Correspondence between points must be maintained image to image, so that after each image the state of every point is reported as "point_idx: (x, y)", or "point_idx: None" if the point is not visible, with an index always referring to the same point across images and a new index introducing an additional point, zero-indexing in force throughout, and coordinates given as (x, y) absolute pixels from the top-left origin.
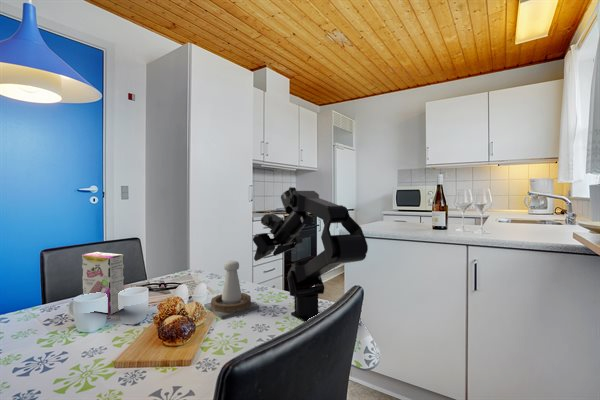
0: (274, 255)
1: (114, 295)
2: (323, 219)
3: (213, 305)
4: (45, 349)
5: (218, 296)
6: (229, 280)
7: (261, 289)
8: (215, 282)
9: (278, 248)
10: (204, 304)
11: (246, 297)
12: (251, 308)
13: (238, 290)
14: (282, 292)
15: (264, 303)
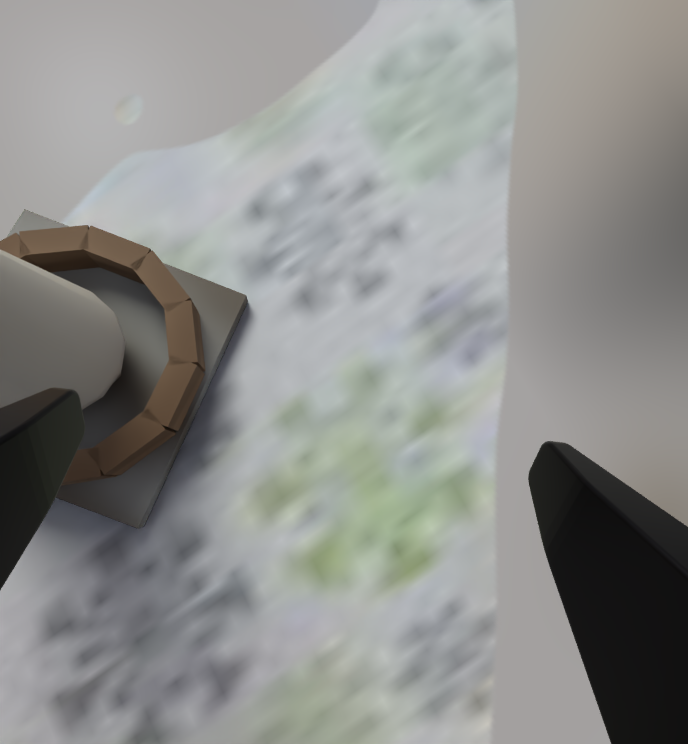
0: (529, 477)
1: None
2: None
3: None
4: None
5: (67, 244)
6: None
7: (449, 330)
8: (409, 23)
9: (630, 586)
10: (21, 214)
11: (147, 410)
12: (85, 506)
13: (6, 398)
14: (473, 489)
15: (237, 504)
